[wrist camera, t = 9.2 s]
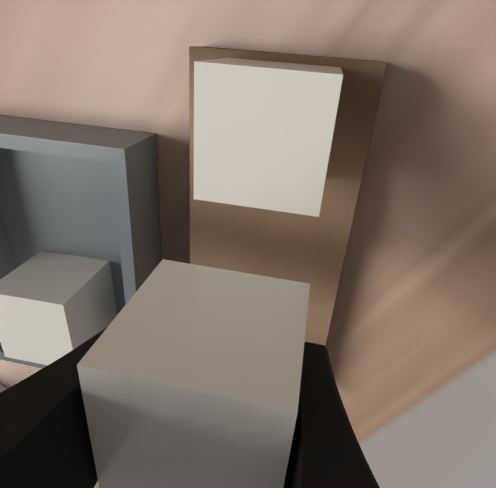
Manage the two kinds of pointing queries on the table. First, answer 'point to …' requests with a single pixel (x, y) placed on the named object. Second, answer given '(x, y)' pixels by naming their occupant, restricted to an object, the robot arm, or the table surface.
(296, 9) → the table surface
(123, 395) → the off-white stacked cube
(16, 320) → the cream matte cube
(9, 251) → the bin
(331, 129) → the off-white block
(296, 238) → the brown flat slab
